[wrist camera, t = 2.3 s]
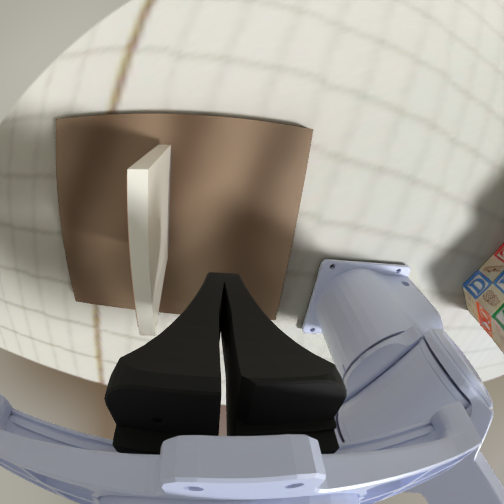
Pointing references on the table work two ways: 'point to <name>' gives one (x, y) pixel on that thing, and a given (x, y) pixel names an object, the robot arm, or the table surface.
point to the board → (182, 202)
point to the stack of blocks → (488, 296)
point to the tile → (148, 232)
